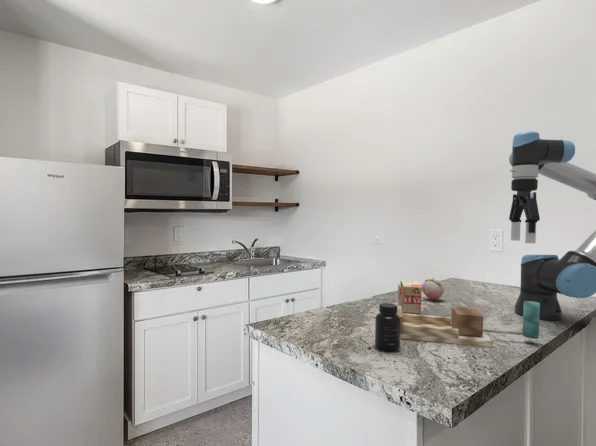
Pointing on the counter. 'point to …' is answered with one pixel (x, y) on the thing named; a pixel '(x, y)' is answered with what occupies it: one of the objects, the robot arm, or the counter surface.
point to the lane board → (436, 330)
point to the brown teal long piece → (472, 325)
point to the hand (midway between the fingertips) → (522, 241)
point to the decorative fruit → (432, 289)
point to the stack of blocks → (410, 297)
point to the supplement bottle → (387, 328)
